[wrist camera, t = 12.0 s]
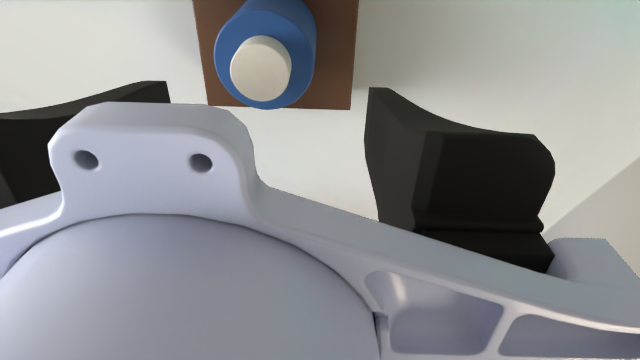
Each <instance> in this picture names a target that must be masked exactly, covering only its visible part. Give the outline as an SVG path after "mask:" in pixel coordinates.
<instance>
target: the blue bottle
mask: <svg viewBox="0 0 640 360" xmlns="http://www.w3.org/2000/svg"><path fill="white" fill-rule="evenodd" d="M316 40H317V29H316V24H315V20H314V17H313V15H312V13H311V11H310V10H309V8H308V7H307V5H306V4H305V3H304V2H303V1H302V0H247V1H246V2H245V3H244V5H243V6H242V7H241V8H240V9H239V10H238V11H237V12H236V13H235V14H234V15H233V16H232V17H231V18H230V19H229V20H228V21H227V22H226V24H225V25H224V26H223V27H222V29H221V30H220V32H219V34H218V36H217V38H216V41H215V46H214V64H215V68H216V72H217V74H218V77H219V79H220V81H221V82H222V84H223V85H224V87H225V88H226V89H227V91H228V92H229V93H230V94H231V95H232V96H234V97H235V98H236V99H237V100H239V101H240V102H242V103H244V104H246V105H248V106H251V107H254V108H258V109H266V110H270V109H278V108H282V107H285V106H288V105H290V104H292V103H293V102H295V101H296V100H298V99H299V98H300V97H301V96H302V95H303V94H304V93H305V91H306V90H307V88H308V87H309V85H310V83H311V80H312V77H313V73H314V65H315V52H316Z"/></svg>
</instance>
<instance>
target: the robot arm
mask: <svg viewBox="0 0 640 360" xmlns="http://www.w3.org/2000/svg"><path fill="white" fill-rule="evenodd" d="M364 146H365V158H366V163H367V167H368V171H369V175H370V179H371V183H372V187H373V191H374V195H375V199H376V204H377V210H378V218H379V222H378V221H375V220H372V219H369V218H365V217H362V216H359V215H356V214H353V213H350V212H347V211H344V210H340V209H337V208H334V207H331V206H328V205H325V204H322V203H318V202H315V201H312V200H309V199H306V198H303V197H300V196H296V195H293V194H290V193H287V192H284V191H281V190H278V189H275V188H271V187H269V186H268V185H266V184H265V183H264V182H263V181H262V180H261V179H260V178H259V176H258V174H257V171H256V167H255V160H254V148H253V143H252V140H251V138H250V135H249V133H248V130H247V128H246V125H244V124H243V123H242V122H241V121H240V120H239V119H237V118H236V117H235V116H234V115H233V114H232V113H230V112H229V111H228V110H224V109H220V108H216V107H213V106H209V105H205V104H172V103H171V102H170V97H169V92H168V88H167V83H166V81H141V82H136V83H132V84H129V85H125V86H122V87H119V88H116V89H112V90H109V91H106V92H103V93H100V94H96V95H93V96H89V97H86V98H82V99H79V100H75V101H71V102H67V103H63V104H58V105H53V106H48V107H43V108H37V109H30V110H23V111H15V112H8V113H0V360H640V279H639V277H638V276H637V275H636V274H635V273H634V272H633V270H632V269H631V268H630V267H629V266H628V265H627V264H626V262H624V260H623V259H622V258H621V257H620V256H619V254H618V253H617V252H616V251H615V250H614V249H613V247H612V246H611V245H610V244H609V243H608V242H607V241H606V239H592V238H559V239H555V240H553V241H551V242H549V243H548V244H547V243H546V242H545V240H544V239H543V238H542V236H541V234H540V233H539V232H542V231H543V229H544V224H543V223H542V222H541V220H540V219H539V217H538V214H539V212H540V210H541V207H542V205H543V203H544V201H545V199H546V197H547V194H548V192H549V190H550V188H551V186H552V183H553V179H554V176H555V162H554V160H553V157H552V155H551V153H550V151H549V150H548V149H547V148H546V147H545V146H544V145H543V144H542V143H541V142H540V141H539V140H538V138H537V137H536V136H535V135H534V134H521V133H508V132H498V131H492V130H486V129H480V128H475V127H471V126H467V125H463V124H460V123H456V122H453V121H450V120H447V119H445V118H442V117H440V116H437V115H435V114H432V113H430V112H428V111H426V110H424V109H423V108H421V107H419V106H417V105H415V104H414V103H412V102H410V101H409V100H407V99H406V98H404V97H402V96H401V95H399V94H398V93H396V92H395V91H393V90H391V89H389V88H380V87H369V95H368V105H367V114H366V124H365V133H364Z"/></svg>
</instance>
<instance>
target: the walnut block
mask: <svg viewBox="0 0 640 360" xmlns="http://www.w3.org/2000/svg"><path fill="white" fill-rule="evenodd" d="M246 1H247V0H192V2H193V9H194V16H195V22H196V29H197V35H198V42H199V48H200V55H201V62H202V68H203V75H204V81H205V88H206V94H207V101H208V105H209V106H236V107H251V106H248V105H246V104H244V103H242V102H240V101H239V100H237V99H236V98H235V97H234V96H232V95H231V94H230V93H229V92H228V91H227V89H226V88H225V87H224V85H223V84H222V82H221V81H220V79H219V77H218V74H217V72H216V68H215V64H214V46H215V41H216V38H217V36H218V34H219V32H220V30H221V29H222V27H223V26H224V25H225V24H226V22H227V21H228V20H229V19H230V18H231V17H232V16H233V15H234V14H235V13H236V12H237V11H238V10H239V9H240V8H241V7H242V6H243V5H244V3H245V2H246ZM302 1H303V2H304V3H305V4H306V5H307V7H308V8H309V10H310V11H311V13H312V15H313V17H314V20H315V24H316V29H317V40H316V52H315V65H314V73H313V77H312V80H311V83H310V85H309V87H308V88H307V90H306V91H305V93H304V94H303V95H302V96H301V97H300V98H299V99H298V100H296V101H295V102H293V103H292V104H290V105H288V106H285V107H282V108H299V109H331V110H350V106H351V93H352V81H353V68H354V56H355V43H356V30H357V18H358V5H359V0H302Z"/></svg>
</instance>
